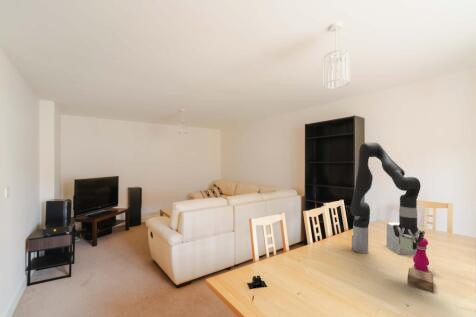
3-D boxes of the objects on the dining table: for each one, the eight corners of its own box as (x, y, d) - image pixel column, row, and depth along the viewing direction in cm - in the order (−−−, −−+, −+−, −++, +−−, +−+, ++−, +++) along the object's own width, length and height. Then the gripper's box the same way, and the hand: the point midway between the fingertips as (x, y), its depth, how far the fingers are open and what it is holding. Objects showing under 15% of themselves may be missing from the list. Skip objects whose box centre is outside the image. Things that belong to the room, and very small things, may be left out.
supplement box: (419, 254, 147) (419, 228, 146) (398, 254, 147) (399, 228, 146) (404, 246, 160) (404, 222, 159) (385, 246, 160) (386, 222, 160)
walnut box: (407, 285, 115) (407, 275, 114) (408, 276, 122) (408, 267, 122) (433, 292, 108) (433, 282, 108) (432, 283, 116) (433, 273, 116)
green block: (400, 248, 118) (400, 236, 118) (404, 246, 120) (404, 234, 120) (411, 251, 113) (411, 239, 113) (415, 249, 116) (415, 237, 116)
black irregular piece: (266, 280, 120) (266, 272, 120) (270, 288, 113) (270, 279, 113) (243, 283, 118) (243, 275, 117) (247, 292, 110) (247, 283, 110)
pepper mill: (422, 272, 125) (423, 237, 125) (409, 266, 132) (410, 233, 132) (432, 270, 127) (432, 236, 126) (418, 264, 134) (419, 231, 133)
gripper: (389, 213, 121) (389, 244, 121) (421, 219, 109) (421, 254, 109) (396, 211, 125) (396, 241, 125) (428, 217, 112) (428, 250, 112)
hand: (408, 247), depth 117 cm, fingers closed on green block, 5 cm apart
